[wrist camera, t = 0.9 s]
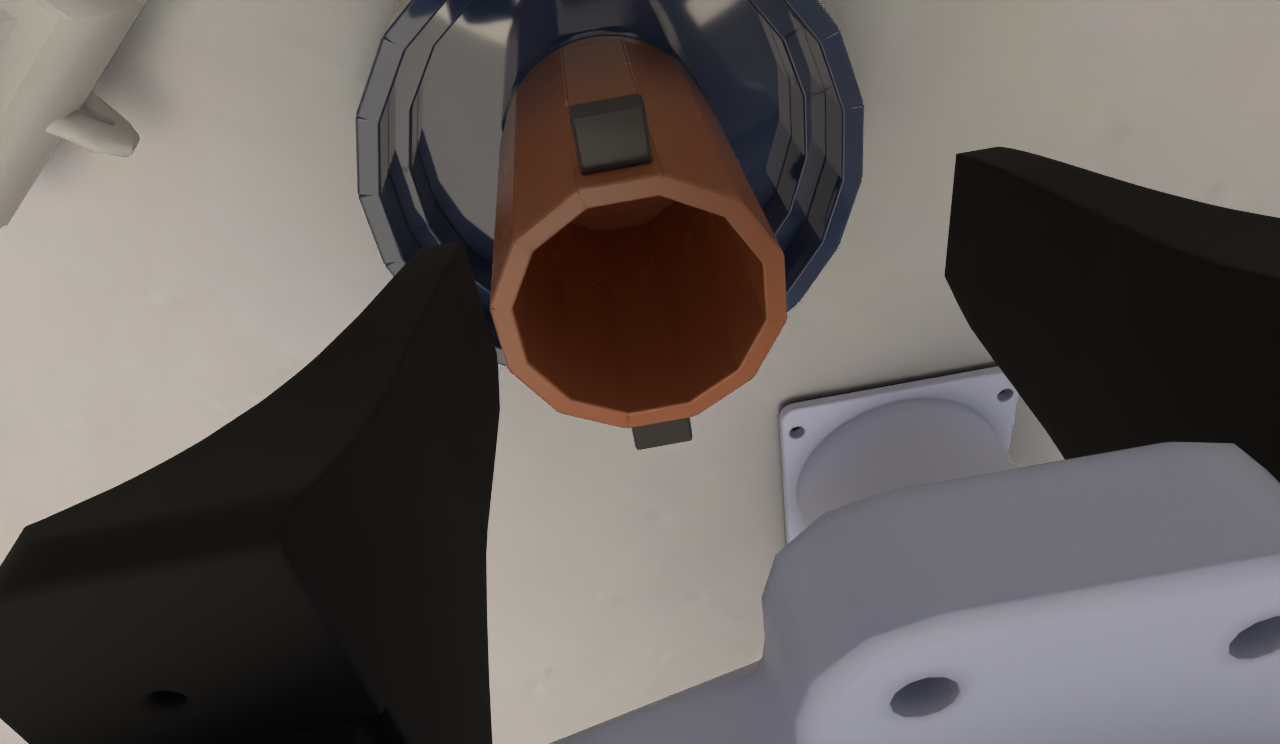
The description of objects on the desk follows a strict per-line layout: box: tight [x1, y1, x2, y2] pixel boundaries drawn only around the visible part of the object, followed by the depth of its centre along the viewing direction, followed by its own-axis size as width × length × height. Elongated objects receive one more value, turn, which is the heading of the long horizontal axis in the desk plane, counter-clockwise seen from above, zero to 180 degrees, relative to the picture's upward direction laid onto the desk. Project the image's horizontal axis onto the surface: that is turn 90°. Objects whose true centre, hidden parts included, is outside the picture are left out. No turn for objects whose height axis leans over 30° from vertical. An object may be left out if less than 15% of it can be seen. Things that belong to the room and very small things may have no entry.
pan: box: [356, 0, 864, 366], centre depth 21 cm, size 11×11×3 cm
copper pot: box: [490, 36, 787, 450], centre depth 18 cm, size 7×5×8 cm
